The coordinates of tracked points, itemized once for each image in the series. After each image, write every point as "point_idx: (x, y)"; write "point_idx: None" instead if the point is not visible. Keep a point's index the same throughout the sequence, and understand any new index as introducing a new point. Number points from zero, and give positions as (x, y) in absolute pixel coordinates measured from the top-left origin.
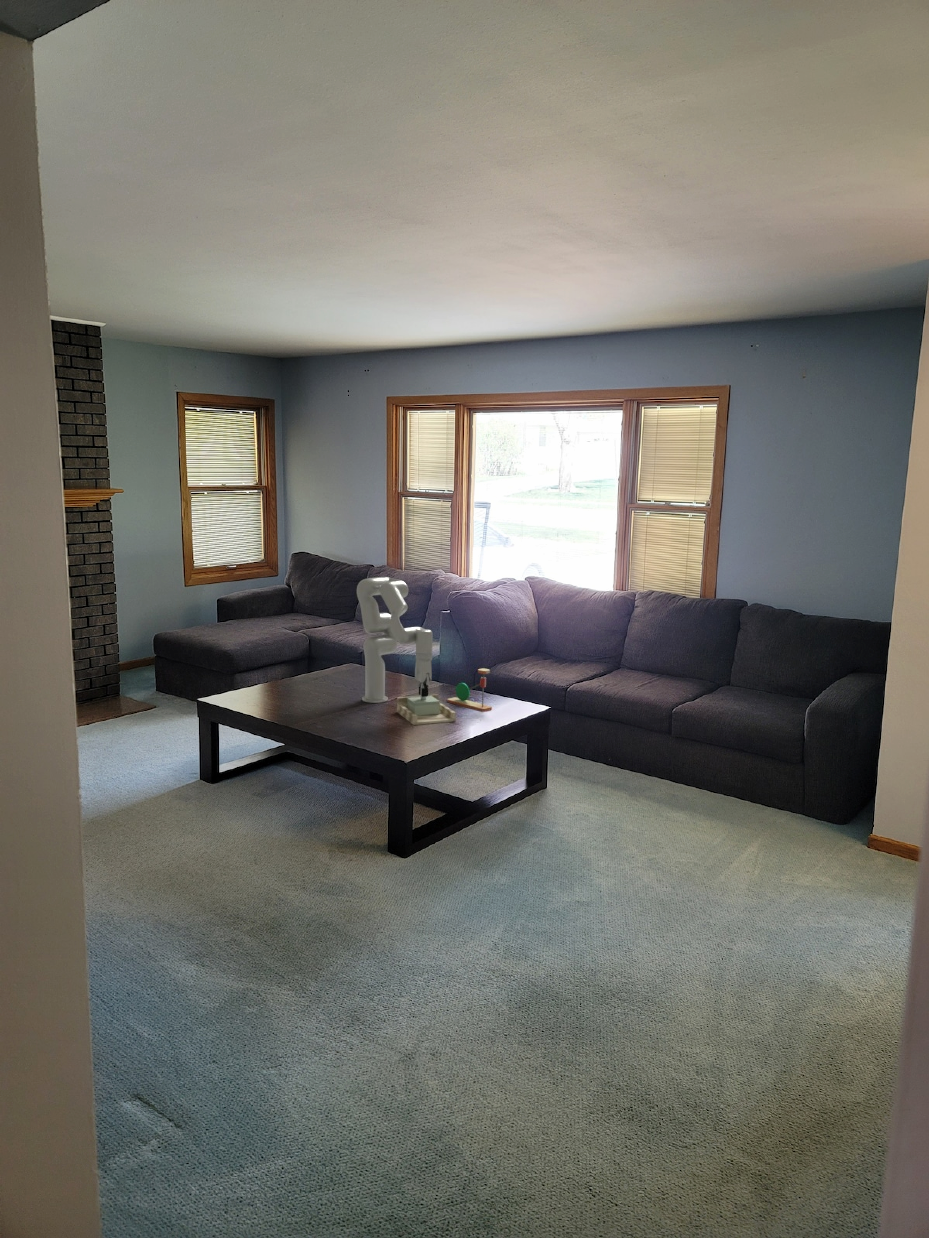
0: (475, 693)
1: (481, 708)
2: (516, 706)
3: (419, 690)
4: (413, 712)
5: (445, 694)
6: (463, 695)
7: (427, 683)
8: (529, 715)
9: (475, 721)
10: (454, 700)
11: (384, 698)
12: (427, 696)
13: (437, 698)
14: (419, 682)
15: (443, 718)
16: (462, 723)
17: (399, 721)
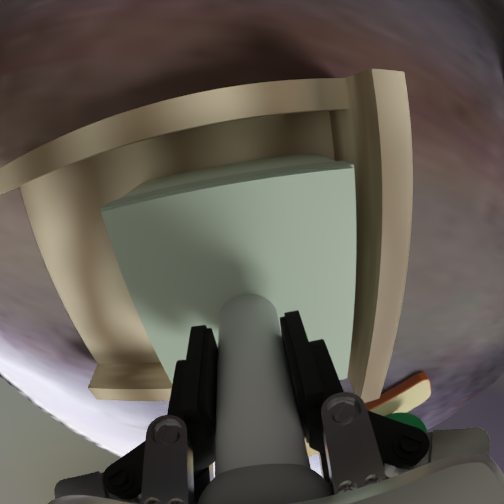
0: (440, 420)
1: None
2: None
3: (291, 353)
4: (163, 179)
5: (483, 360)
6: None
7: (56, 493)
8: None
9: (117, 413)
10: (398, 399)
11: None
12: (342, 355)
13: (353, 383)
14: (336, 454)
15: (104, 336)
16: (81, 376)
17: (95, 72)
